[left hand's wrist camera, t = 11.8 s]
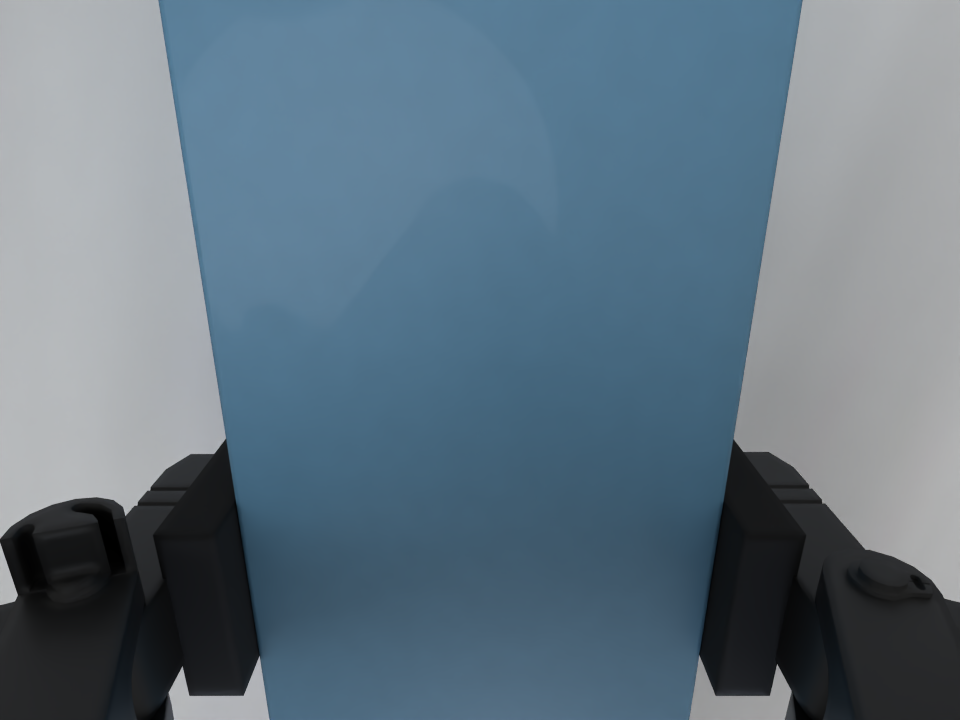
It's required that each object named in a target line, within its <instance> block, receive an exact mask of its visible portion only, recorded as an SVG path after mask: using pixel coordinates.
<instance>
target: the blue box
mask: <svg viewBox="0 0 960 720" xmlns="http://www.w3.org/2000/svg"><path fill="white" fill-rule="evenodd" d="M159 6H160V13H161V19H162V26H163V32H164V39H165V45H166V52H167V58H168V65H169V71H170V78H171V84H172V91H173V97H174V104H175V110H176V117H177V123H178V129H179V136H180V142H181V149H182V155H183V162H184V168H185V175H186V181H187V188H188V194H189V201H190V207H191V214H192V220H193V227H194V233H195V240H196V246H197V253H198V259H199V265H200V272H201V278H202V285H203V291H204V298H205V304H206V311H207V317H208V324H209V330H210V337H211V343H212V350H213V356H214V363H215V369H216V376H217V382H218V389H219V395H220V401H221V408H222V414H223V421H224V427H225V434H226V440H227V447H228V453H229V460H230V466H231V473H232V479H233V486H234V492H235V499H236V505H237V512H238V518H239V524H240V531H241V537H242V544H243V550H244V557H245V563H246V570H247V576H248V583H249V589H250V596H251V602H252V609H253V615H254V622H255V628H256V635H257V641H258V648H259V654H260V660H261V667H262V673H263V680H264V686H265V693H266V699H267V706H268V712H269V719H270V720H689V717H690V710H691V704H692V698H693V691H694V685H695V679H696V672H697V666H698V660H699V653H700V647H701V641H702V634H703V628H704V622H705V615H706V609H707V603H708V596H709V590H710V584H711V577H712V571H713V564H714V558H715V552H716V545H717V539H718V533H719V526H720V520H721V514H722V507H723V501H724V495H725V488H726V482H727V476H728V469H729V463H730V457H731V450H732V444H733V438H734V431H735V425H736V419H737V412H738V406H739V400H740V393H741V387H742V381H743V374H744V368H745V362H746V355H747V349H748V343H749V336H750V330H751V324H752V317H753V311H754V305H755V298H756V292H757V285H758V279H759V273H760V266H761V260H762V254H763V247H764V241H765V235H766V228H767V222H768V216H769V209H770V203H771V197H772V190H773V184H774V178H775V171H776V165H777V159H778V152H779V146H780V140H781V133H782V127H783V121H784V114H785V108H786V102H787V95H788V89H789V83H790V76H791V70H792V64H793V57H794V51H795V45H796V38H797V32H798V25H799V19H800V13H801V6H802V0H159Z"/></svg>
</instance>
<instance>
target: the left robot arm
mask: <svg viewBox="0 0 960 720" xmlns="http://www.w3.org/2000/svg"><path fill="white" fill-rule="evenodd" d="M0 543H1V546H2V549H3V552H4V555H5V558H6V561H7V564H8V567H9V570H10V573H11V576H12V579H13V582H14V585H15V588H16V591H17V594H18V597H17V599H16V601H15V602H12V603H8V604H4V605H0V720H174V717H173V711H172V705H171V701H170V697H169V693H168V692H169V690H170V689H171V687H172V685H173V683H174V681H175V679H176V677H177V675H178V673H179V672H180V670H181V668H182V666H183V670H184V674H185V678H186V683H187V687H188V691H189V696H244V693H245V691H246V688H247V686H248V683H249V681H250V678H251V676H252V673H253V671H254V668H255V666H256V663H257V661H258V658H259V656H260V654H259V648H258V641H257V635H256V628H255V622H254V615H253V609H252V602H251V596H250V589H249V583H248V576H247V570H246V563H245V557H244V550H243V544H242V537H241V531H240V524H239V518H238V512H237V505H236V499H235V492H234V486H233V479H232V473H231V466H230V460H229V453H228V447H227V440H225V441H224V442H223V444H222V445H221V446H220V447H219V449H218V450H217V451H216V453H215V454H190V455H189V456H187V457H186V458H184V459H182V460H181V461H179V462H177V463H176V464H174V465H173V466H171V467H169V468H168V469H166V470H165V471H164V472H163V474H162V475H161V476H160V477H159V478H158V479H157V481H156V482H155V483H154V484H153V485H152V486H151V490H150V491H147V492H146V493H145V494H144V496H143V497H142V498H141V499H140V500H139V501H138V506H134V507H133V508H132V509H131V511H130V512H129V513H128V514H127V515H126V516H125V513H124V509H123V507H122V506H121V505H119V504H118V503H117V502H115V501H114V500H109V499H103V498H97V497H96V498H82V499H74V500H70V501H66V502H62V503H58V504H54V505H51V506H49V507H46V508H44V509H41V510H39V511H37V512H34V513H32V514H30V515H28V516H27V517H25V518H24V519H22V520H20V521H19V522H17V523H16V524H14V525H13V526H11V527H10V528H9V529H8V531H7V532H6V533H5V534H4V535H3V536H2V537H1V539H0ZM699 655H700V657H701V660H702V662H703V665H704V667H705V670H706V672H707V675H708V677H709V680H710V682H711V685H712V687H713V690H714V692H715V695H716V696H770V693H771V688H772V684H773V679H774V675H775V671H776V666H777V664H778V666H779V668H780V670H781V672H782V673H783V675H784V677H785V679H786V681H787V683H788V685H789V687H790V688H791V690H792V693H791V697H790V701H789V705H788V709H787V713H786V717H785V720H960V602H955V601H951V600H947V599H944V598H943V595H942V594H941V592H940V591H939V590H938V588H937V587H936V586H935V584H934V583H933V582H932V580H930V579H929V578H928V577H926V576H925V575H924V574H922V573H921V572H920V571H918V570H917V569H916V568H915V567H913V566H911V565H909V564H907V563H905V562H903V561H900V560H898V559H896V558H894V557H892V556H889V555H885V554H882V553H878V552H875V551H871V550H865V549H864V548H863V546H862V545H861V544H860V543H859V542H858V541H857V540H856V538H855V537H854V536H853V535H852V534H851V533H850V532H849V530H848V529H847V528H846V527H845V526H844V525H843V524H842V522H841V521H840V520H839V519H838V518H837V517H836V516H835V514H834V513H833V512H832V511H831V510H830V509H829V507H828V506H827V505H826V504H822V499H821V498H820V497H819V496H818V495H817V494H816V493H815V491H814V490H813V489H809V485H808V483H807V482H806V481H805V480H804V479H803V478H802V477H801V475H800V474H799V473H798V472H797V471H796V470H795V468H794V467H792V466H790V465H789V464H787V463H786V462H784V461H782V460H781V459H779V458H777V457H776V456H774V455H773V454H771V453H769V452H743V451H742V450H741V449H740V447H739V446H738V445H737V443H736V442H735V441H734V439H733V444H732V450H731V457H730V463H729V469H728V476H727V482H726V488H725V495H724V501H723V507H722V514H721V520H720V526H719V533H718V539H717V545H716V552H715V558H714V564H713V571H712V577H711V584H710V590H709V596H708V603H707V609H706V615H705V622H704V628H703V634H702V641H701V647H700V653H699Z"/></svg>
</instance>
